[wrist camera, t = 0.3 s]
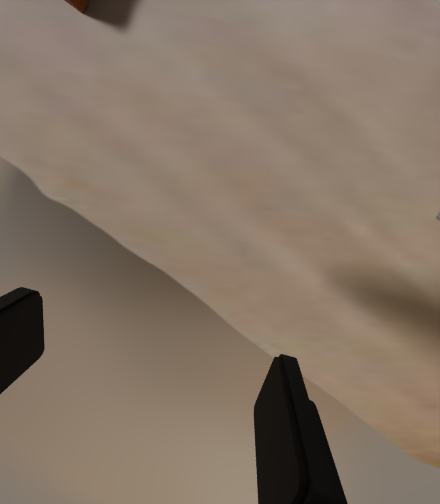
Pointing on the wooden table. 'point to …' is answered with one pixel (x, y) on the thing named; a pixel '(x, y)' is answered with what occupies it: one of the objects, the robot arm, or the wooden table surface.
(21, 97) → the wooden table surface
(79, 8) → the brick
